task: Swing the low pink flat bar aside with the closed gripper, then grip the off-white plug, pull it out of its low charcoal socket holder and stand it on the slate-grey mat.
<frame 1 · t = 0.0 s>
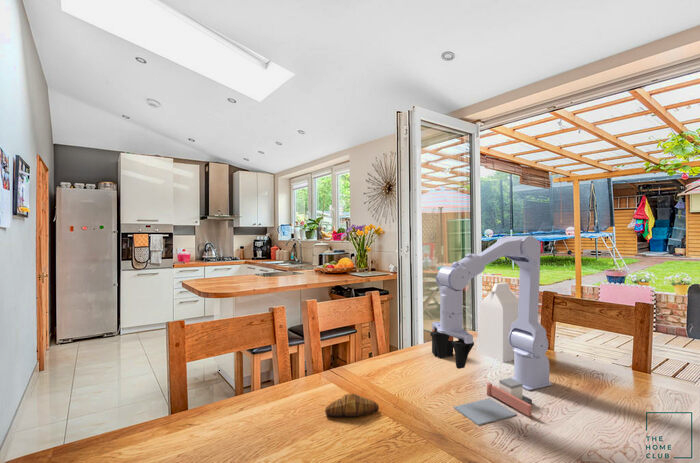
hand: (451, 362, 97), 10 cm above the table, tool pointing down, fingers open, 7 cm apart
slate mat: (484, 411, 91), on the table
milk: (501, 355, 133), on the table
croissant: (352, 414, 90), on the table
socket holder: (510, 400, 97), on the table
battery: (442, 355, 133), on the table
pink flat bar: (507, 399, 95), point 2 cm above the table, hinge at 0.0°
plug: (510, 391, 97), in the socket holder
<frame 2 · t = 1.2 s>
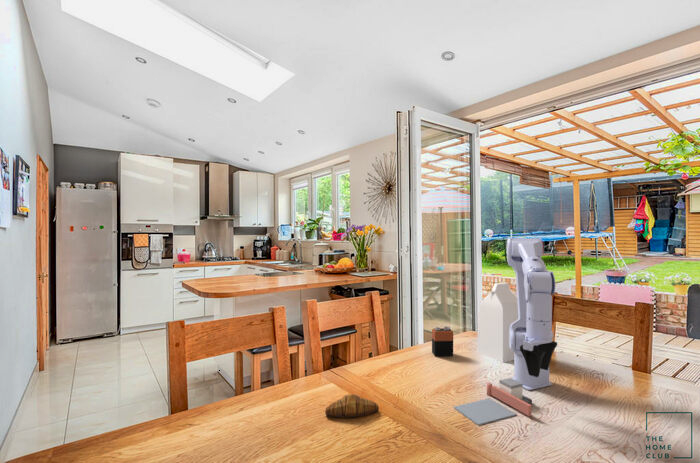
hand: (538, 372, 92), 9 cm above the table, tool pointing down, fingers open, 6 cm apart
nothing on the table moved.
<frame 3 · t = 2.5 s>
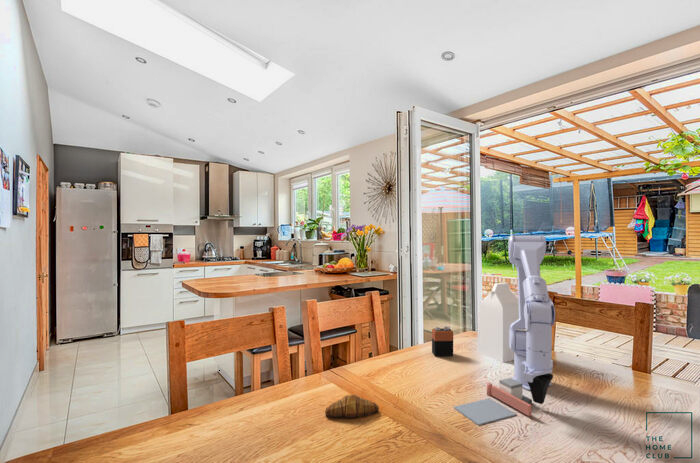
hand: (538, 402, 92), 2 cm above the table, tool pointing down, fingers closed
nothing on the table moved.
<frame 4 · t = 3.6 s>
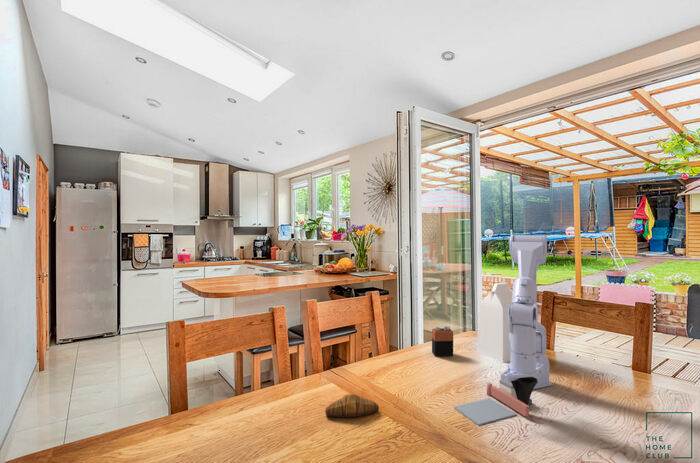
hand: (522, 405, 91), 2 cm above the table, tool pointing down, fingers closed
pink flat bar: (506, 399, 95), point 1 cm above the table, hinge at -4.0°, touching gripper
everything else where it was.
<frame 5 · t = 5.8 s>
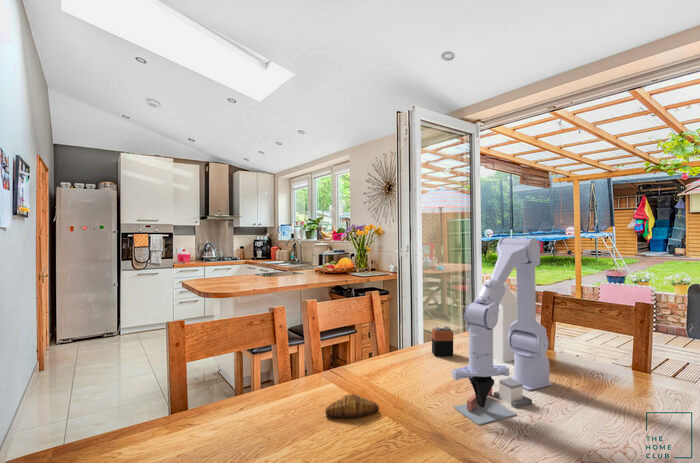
hand: (480, 405, 91), 2 cm above the table, tool pointing down, fingers closed, pressing on pink flat bar
pink flat bar: (480, 397, 96), point 2 cm above the table, hinge at -65.0°, touching gripper
everything else where it was.
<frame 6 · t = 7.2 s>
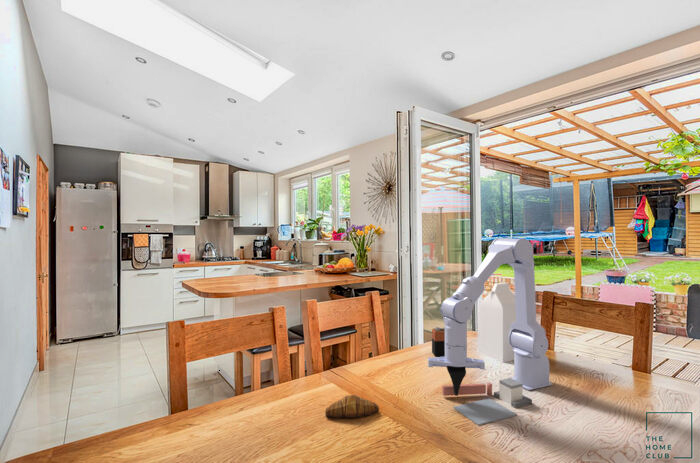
hand: (455, 394, 97), 2 cm above the table, tool pointing down, fingers closed, pressing on pink flat bar
pink flat bar: (467, 390, 100), point 2 cm above the table, hinge at -106.6°, touching gripper
everything else where it was.
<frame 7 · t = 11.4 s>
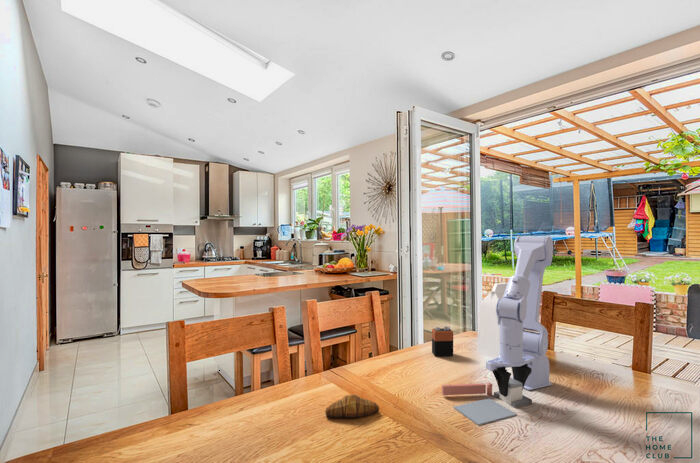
hand: (510, 393, 97), 2 cm above the table, tool pointing down, fingers closed on plug, 4 cm apart
pink flat bar: (467, 390, 100), point 1 cm above the table, hinge at -107.9°
plug: (510, 390, 97), in the socket holder, touching gripper
everything else where it was.
when the fingers open (3 cm above the table, at t = 17.4 s): plug stays where it is, resting on slate mat.
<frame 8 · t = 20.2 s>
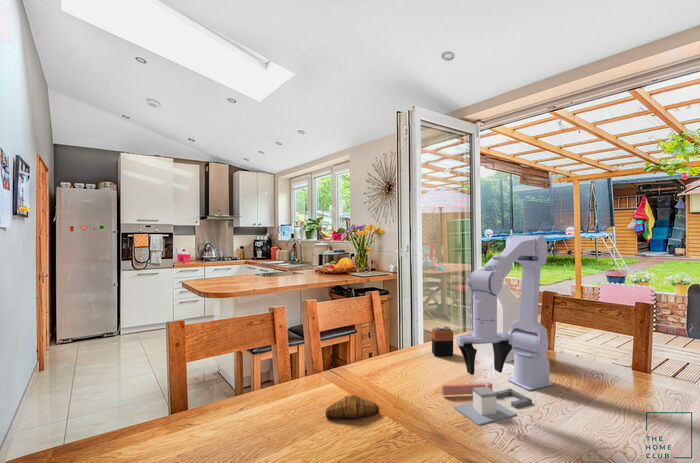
hand: (484, 372, 91), 10 cm above the table, tool pointing down, fingers open, 7 cm apart
plug: (484, 400, 91), resting on slate mat
everything else where it was.
at the end: pink flat bar at -108° (first picture: +0°); plug inside the target area (0.0 cm from its centre), resting on slate mat; plug tilted 0° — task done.
